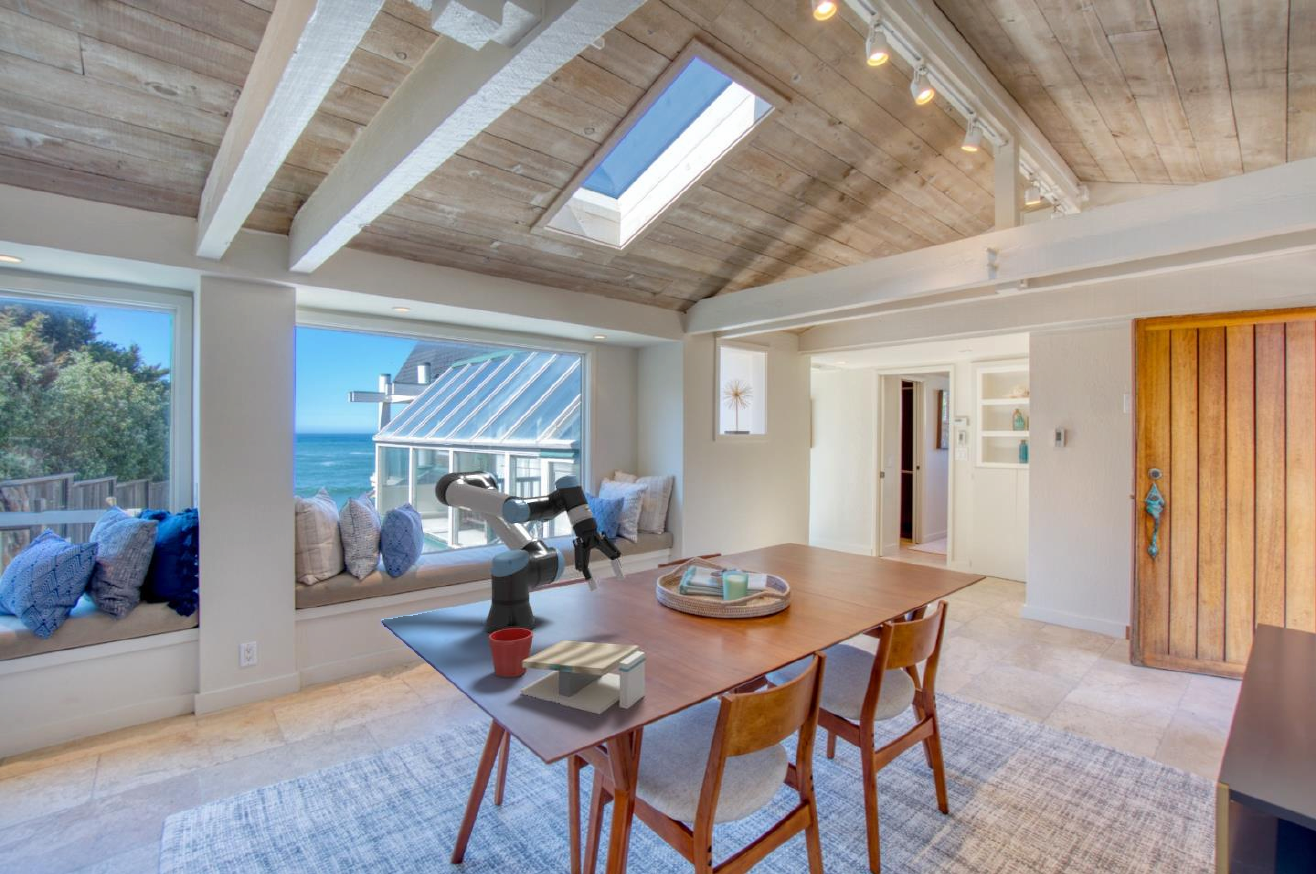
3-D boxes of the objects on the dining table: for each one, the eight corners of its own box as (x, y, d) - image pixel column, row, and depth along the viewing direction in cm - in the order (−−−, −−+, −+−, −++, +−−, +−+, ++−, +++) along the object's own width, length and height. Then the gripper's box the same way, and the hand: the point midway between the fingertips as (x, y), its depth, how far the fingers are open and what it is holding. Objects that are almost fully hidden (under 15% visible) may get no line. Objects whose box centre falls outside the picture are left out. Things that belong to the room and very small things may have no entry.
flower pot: (493, 664, 158) (493, 627, 158) (535, 663, 159) (535, 626, 159) (484, 681, 147) (484, 641, 147) (529, 679, 148) (529, 640, 148)
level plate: (521, 667, 141) (521, 661, 141) (563, 646, 155) (562, 640, 155) (603, 676, 130) (602, 669, 130) (639, 652, 144) (639, 645, 144)
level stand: (520, 693, 140) (521, 651, 140) (566, 667, 156) (566, 629, 156) (615, 718, 128) (615, 672, 128) (655, 687, 144) (655, 645, 144)
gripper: (564, 522, 177) (591, 589, 172) (614, 511, 198) (640, 571, 193) (548, 532, 181) (574, 598, 176) (599, 520, 202) (623, 579, 197)
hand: (608, 584), depth 184 cm, fingers open, 13 cm apart
